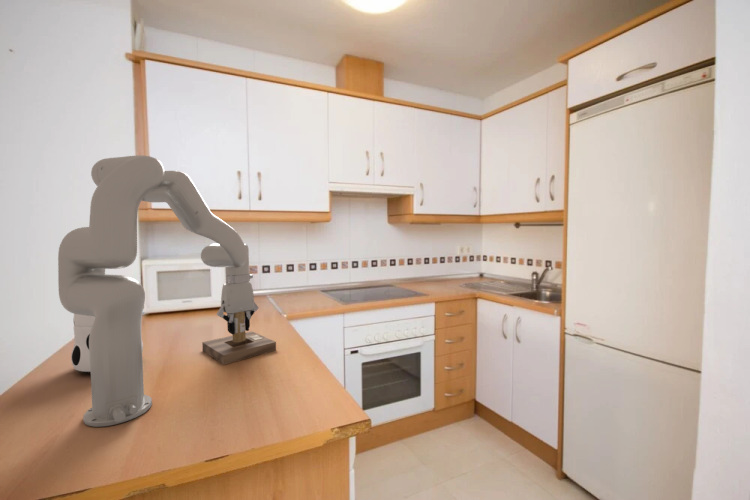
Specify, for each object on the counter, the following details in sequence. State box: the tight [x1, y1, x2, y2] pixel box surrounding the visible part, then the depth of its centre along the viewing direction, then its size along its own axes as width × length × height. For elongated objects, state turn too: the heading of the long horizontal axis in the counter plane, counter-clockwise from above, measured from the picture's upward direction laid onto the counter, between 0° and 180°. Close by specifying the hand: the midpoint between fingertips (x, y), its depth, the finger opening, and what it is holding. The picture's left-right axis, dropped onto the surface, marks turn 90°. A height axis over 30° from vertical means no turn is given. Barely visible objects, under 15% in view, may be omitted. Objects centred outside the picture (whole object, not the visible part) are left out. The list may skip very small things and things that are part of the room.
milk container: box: [70, 313, 144, 374], centre depth 105 cm, size 17×17×18 cm
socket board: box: [201, 330, 277, 366], centre depth 119 cm, size 18×18×3 cm
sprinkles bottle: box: [232, 308, 246, 342], centre depth 118 cm, size 5×5×13 cm
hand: (238, 331), depth 119 cm, fingers closed on sprinkles bottle, 4 cm apart
